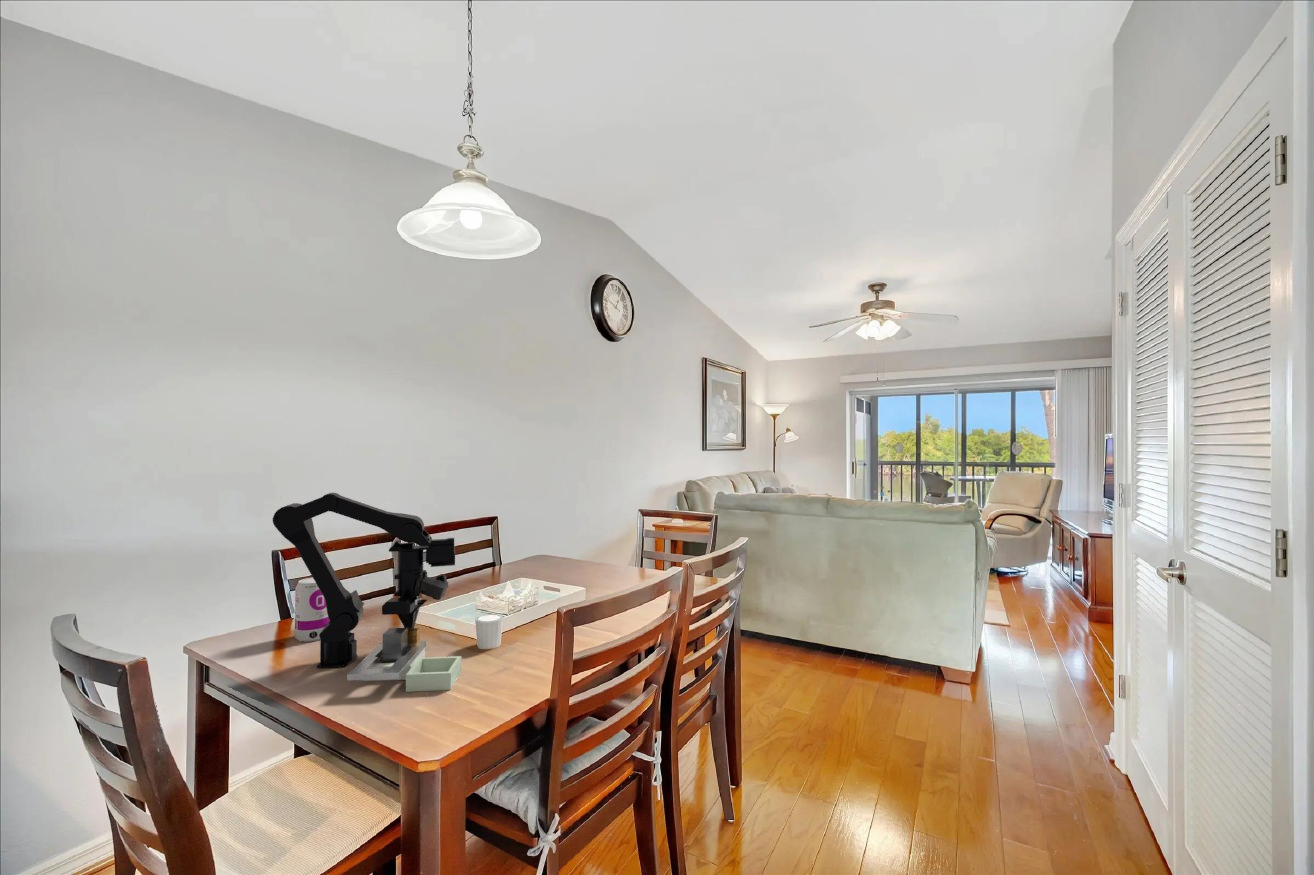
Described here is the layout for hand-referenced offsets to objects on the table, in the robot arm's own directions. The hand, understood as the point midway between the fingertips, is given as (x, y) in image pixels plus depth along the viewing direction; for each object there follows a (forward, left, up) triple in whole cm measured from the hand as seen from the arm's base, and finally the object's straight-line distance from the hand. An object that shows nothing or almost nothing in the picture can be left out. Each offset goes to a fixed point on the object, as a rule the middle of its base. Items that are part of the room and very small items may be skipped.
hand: (410, 632), depth 134 cm
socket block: (0, -10, -5) cm, 11 cm away
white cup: (+18, +4, -6) cm, 19 cm away
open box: (+10, -16, -5) cm, 20 cm away
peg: (0, -10, -5) cm, 11 cm away
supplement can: (-29, +14, -6) cm, 33 cm away
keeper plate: (0, -13, -2) cm, 13 cm away
